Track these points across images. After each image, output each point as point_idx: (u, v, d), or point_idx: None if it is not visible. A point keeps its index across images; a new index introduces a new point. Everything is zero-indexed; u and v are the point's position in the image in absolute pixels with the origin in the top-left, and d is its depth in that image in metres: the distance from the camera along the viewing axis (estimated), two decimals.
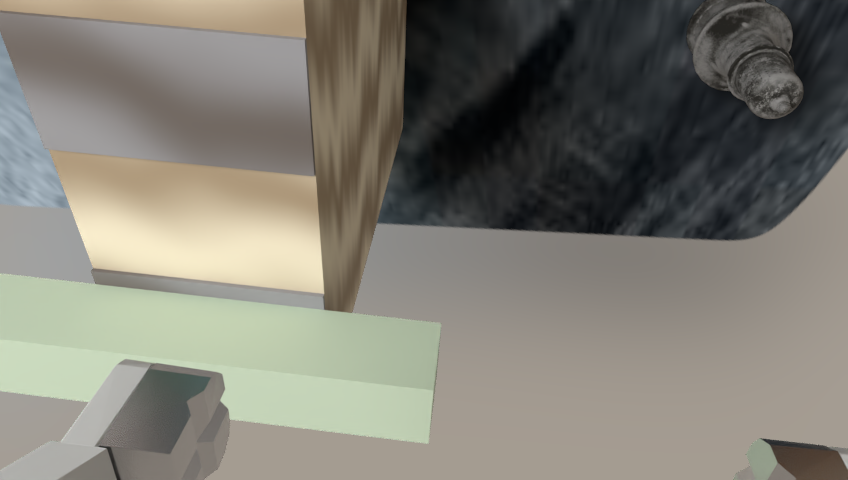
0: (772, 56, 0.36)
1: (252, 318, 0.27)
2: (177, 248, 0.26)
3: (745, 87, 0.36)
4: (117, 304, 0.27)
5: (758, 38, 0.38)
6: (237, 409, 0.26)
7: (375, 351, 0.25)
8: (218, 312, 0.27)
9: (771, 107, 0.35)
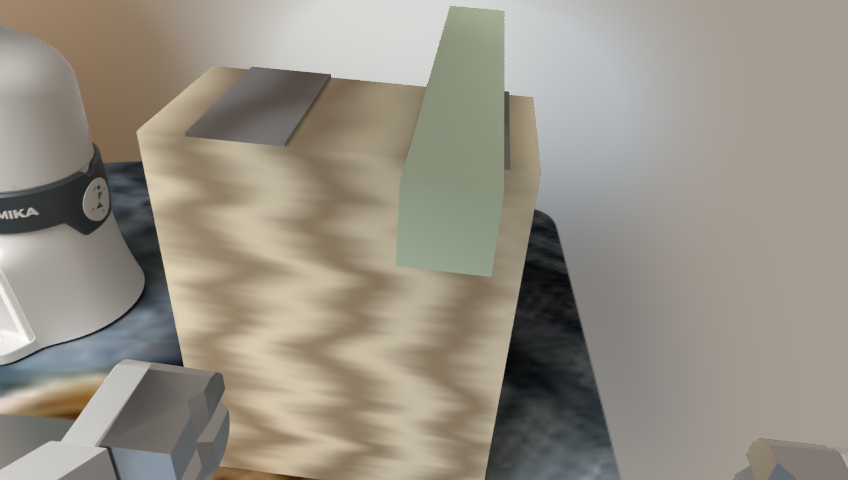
0: None
1: None
2: (385, 123, 0.34)
3: None
4: None
5: None
6: (490, 46, 0.35)
7: None
8: None
9: None
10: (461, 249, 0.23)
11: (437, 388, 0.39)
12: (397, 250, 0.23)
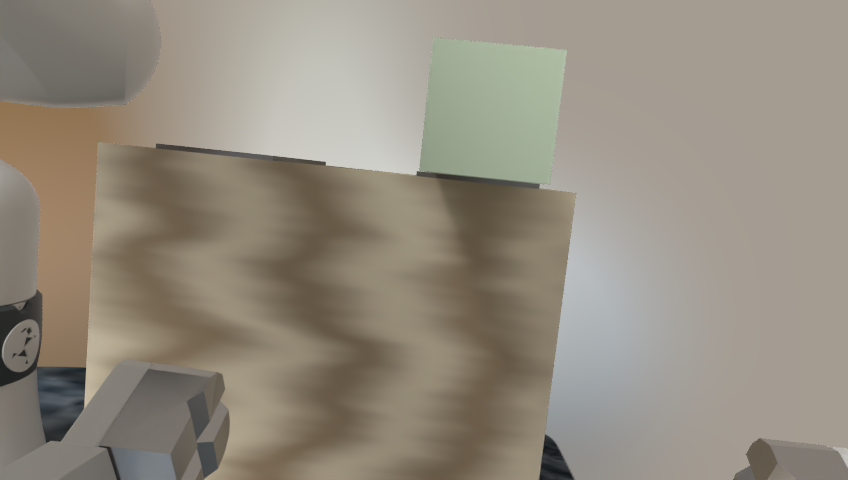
0: None
1: None
2: None
3: None
4: None
5: None
6: None
7: None
8: None
9: None
10: (510, 140, 0.17)
11: None
12: (423, 145, 0.17)
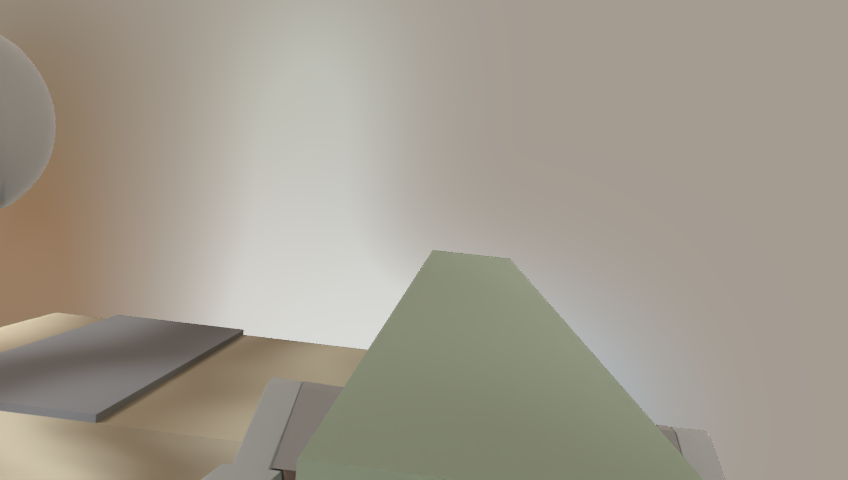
0: None
1: None
2: None
3: None
4: None
5: None
6: (504, 276, 0.21)
7: None
8: None
9: None
10: None
11: None
12: None
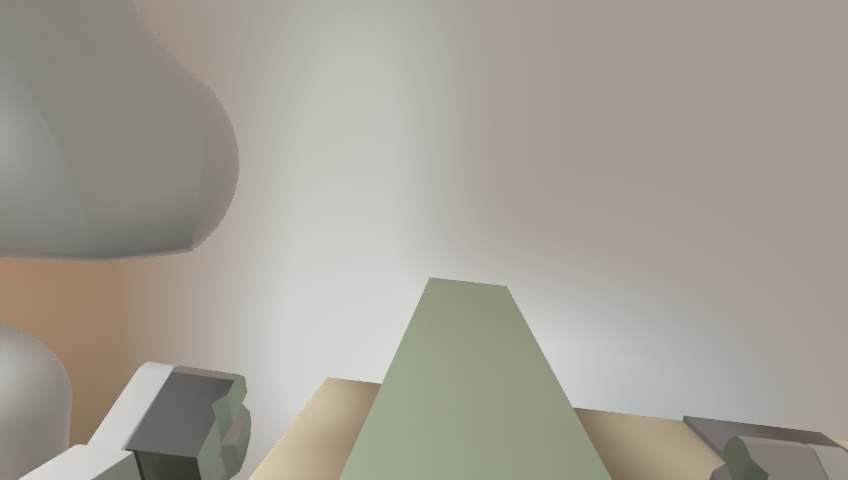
0: None
1: None
2: None
3: None
4: None
5: None
6: (500, 314, 0.21)
7: None
8: None
9: None
10: None
11: None
12: None
